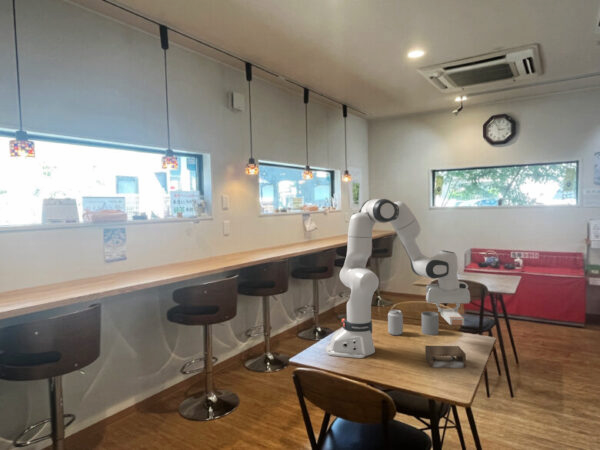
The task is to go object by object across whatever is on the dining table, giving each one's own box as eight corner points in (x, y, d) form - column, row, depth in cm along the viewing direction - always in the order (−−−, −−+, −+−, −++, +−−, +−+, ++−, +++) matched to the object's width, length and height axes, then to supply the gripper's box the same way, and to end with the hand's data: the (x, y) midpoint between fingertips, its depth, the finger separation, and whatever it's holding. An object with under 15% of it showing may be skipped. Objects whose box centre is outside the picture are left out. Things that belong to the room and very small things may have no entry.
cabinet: (430, 367, 156) (430, 354, 156) (425, 358, 166) (425, 345, 166) (466, 367, 155) (466, 354, 155) (458, 358, 164) (458, 346, 164)
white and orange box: (450, 324, 172) (450, 318, 172) (440, 314, 188) (440, 308, 188) (464, 325, 171) (464, 318, 171) (453, 315, 187) (453, 308, 187)
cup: (424, 329, 204) (424, 310, 204) (440, 331, 200) (440, 312, 199) (419, 333, 198) (419, 314, 197) (435, 336, 193) (435, 316, 192)
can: (403, 336, 194) (403, 313, 193) (388, 335, 196) (388, 312, 195) (402, 331, 201) (402, 309, 201) (387, 331, 203) (387, 308, 202)
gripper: (427, 285, 183) (427, 313, 184) (471, 285, 181) (471, 313, 182) (424, 282, 189) (424, 309, 190) (467, 282, 187) (467, 310, 188)
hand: (447, 311), depth 186 cm, fingers closed on white and orange box, 6 cm apart
